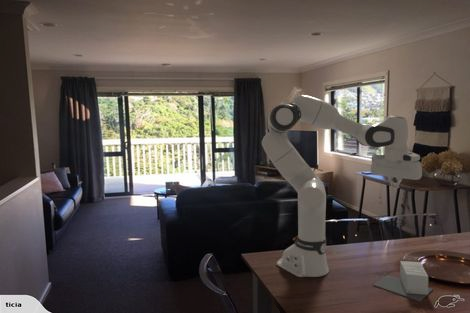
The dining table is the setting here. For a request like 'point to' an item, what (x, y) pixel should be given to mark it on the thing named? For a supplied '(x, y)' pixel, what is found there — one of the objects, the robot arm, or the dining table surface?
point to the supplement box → (414, 277)
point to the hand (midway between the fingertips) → (394, 187)
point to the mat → (398, 287)
